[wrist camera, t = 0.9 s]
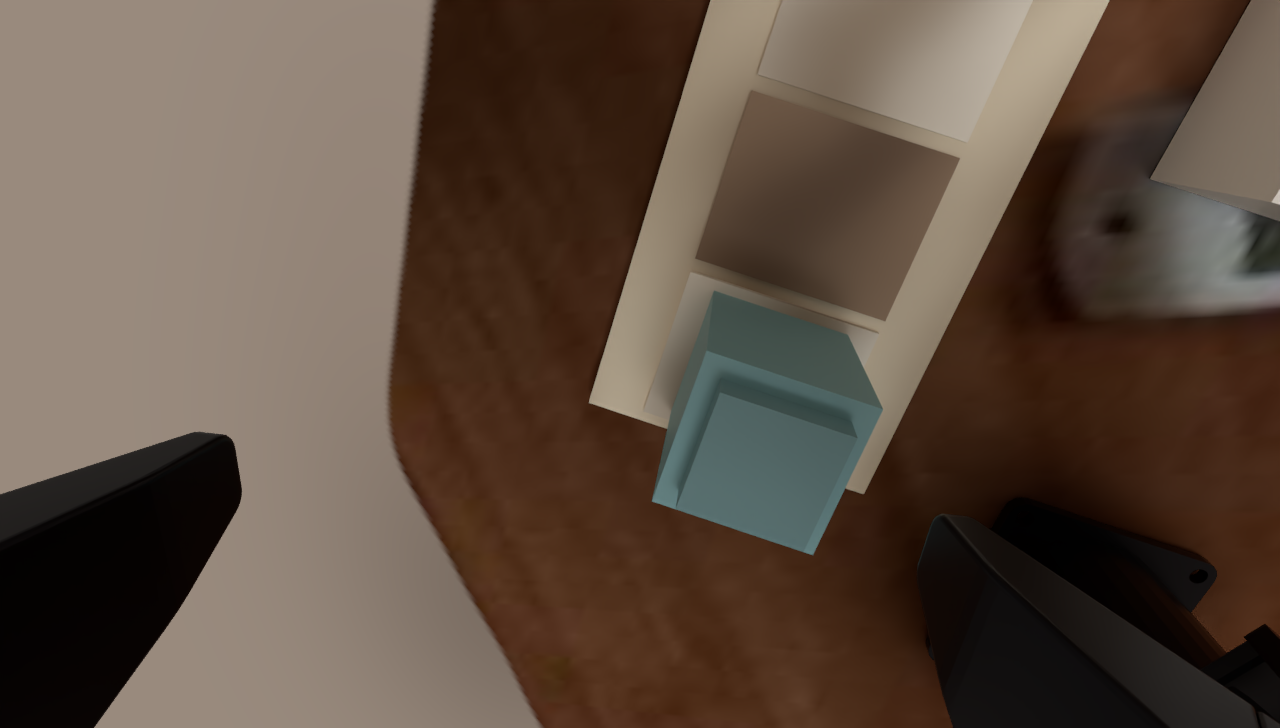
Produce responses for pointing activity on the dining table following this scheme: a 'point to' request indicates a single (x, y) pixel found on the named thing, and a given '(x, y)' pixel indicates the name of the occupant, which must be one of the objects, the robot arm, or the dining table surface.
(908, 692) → the dining table surface
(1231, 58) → the die
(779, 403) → the teal rectangular block
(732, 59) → the game strip
